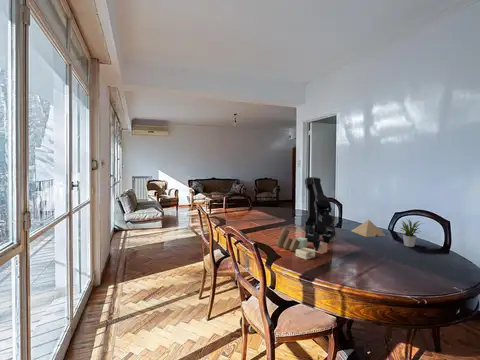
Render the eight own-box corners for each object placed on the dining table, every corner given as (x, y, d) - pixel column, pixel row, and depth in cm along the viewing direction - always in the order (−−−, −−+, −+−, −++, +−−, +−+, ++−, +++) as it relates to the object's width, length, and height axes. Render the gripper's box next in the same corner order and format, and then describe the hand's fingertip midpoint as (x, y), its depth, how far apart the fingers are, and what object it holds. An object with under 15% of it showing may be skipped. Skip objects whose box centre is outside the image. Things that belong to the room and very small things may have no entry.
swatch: (306, 248, 163) (306, 247, 163) (315, 250, 158) (315, 249, 158) (299, 249, 159) (299, 249, 159) (308, 252, 154) (308, 251, 154)
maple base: (304, 253, 153) (304, 247, 153) (314, 257, 148) (315, 250, 147) (295, 256, 149) (295, 249, 149) (305, 260, 144) (305, 253, 143)
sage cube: (299, 245, 168) (299, 237, 168) (306, 247, 165) (307, 238, 165) (295, 247, 164) (295, 238, 164) (303, 249, 161) (303, 240, 161)
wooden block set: (297, 256, 156) (304, 238, 157) (284, 251, 154) (291, 233, 154) (283, 245, 174) (290, 229, 174) (271, 240, 171) (278, 225, 171)
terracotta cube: (319, 249, 160) (319, 241, 160) (327, 252, 156) (327, 243, 156) (314, 251, 157) (314, 242, 156) (321, 253, 153) (321, 244, 153)
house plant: (428, 245, 170) (429, 218, 169) (423, 250, 160) (424, 222, 159) (401, 241, 180) (402, 215, 178) (395, 245, 169) (396, 218, 168)
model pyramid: (366, 237, 189) (366, 222, 188) (350, 231, 205) (350, 217, 205) (387, 236, 192) (388, 221, 192) (370, 230, 209) (371, 217, 209)
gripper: (319, 217, 167) (319, 243, 168) (298, 221, 156) (297, 249, 157) (336, 220, 159) (335, 248, 160) (315, 224, 147) (314, 254, 148)
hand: (320, 249), depth 156 cm, fingers open, 7 cm apart
